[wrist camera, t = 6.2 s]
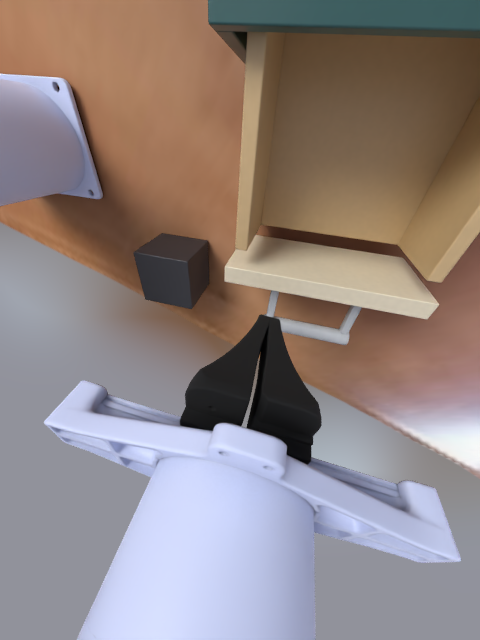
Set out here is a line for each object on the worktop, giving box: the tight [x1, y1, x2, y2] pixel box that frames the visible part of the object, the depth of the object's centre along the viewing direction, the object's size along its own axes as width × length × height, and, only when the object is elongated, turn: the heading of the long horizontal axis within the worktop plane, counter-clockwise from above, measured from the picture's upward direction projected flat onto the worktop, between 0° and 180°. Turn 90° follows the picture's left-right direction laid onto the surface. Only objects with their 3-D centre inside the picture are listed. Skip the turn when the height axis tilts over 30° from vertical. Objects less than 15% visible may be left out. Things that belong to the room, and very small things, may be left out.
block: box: [134, 233, 209, 309], centre depth 22 cm, size 5×5×5 cm
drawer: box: [225, 32, 480, 345], centre depth 14 cm, size 18×13×7 cm
